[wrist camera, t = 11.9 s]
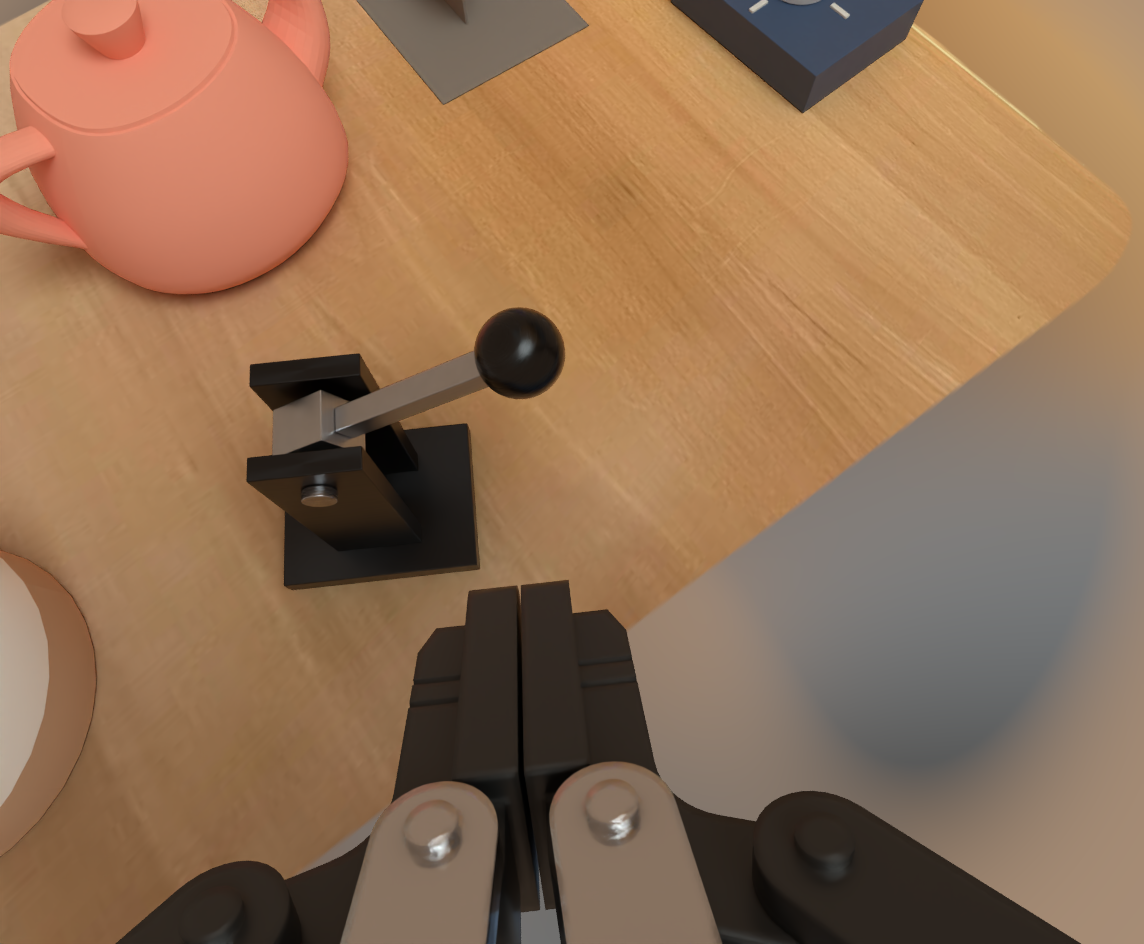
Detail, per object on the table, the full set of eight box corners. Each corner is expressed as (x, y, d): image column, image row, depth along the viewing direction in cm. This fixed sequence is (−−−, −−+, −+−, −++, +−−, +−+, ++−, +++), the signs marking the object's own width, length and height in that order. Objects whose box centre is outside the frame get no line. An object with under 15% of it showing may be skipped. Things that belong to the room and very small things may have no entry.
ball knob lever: (470, 431, 43) (427, 313, 31) (480, 569, 41) (438, 499, 29) (293, 449, 43) (180, 337, 31) (291, 590, 40) (168, 528, 28)
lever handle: (576, 316, 28) (528, 278, 25) (586, 395, 27) (537, 363, 24) (325, 418, 34) (264, 395, 31) (325, 486, 33) (262, 468, 30)
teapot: (290, 10, 54) (201, -213, 41) (461, 134, 50) (421, -70, 37) (-8, 236, 48) (-220, 56, 35) (162, 396, 44) (-7, 259, 31)
